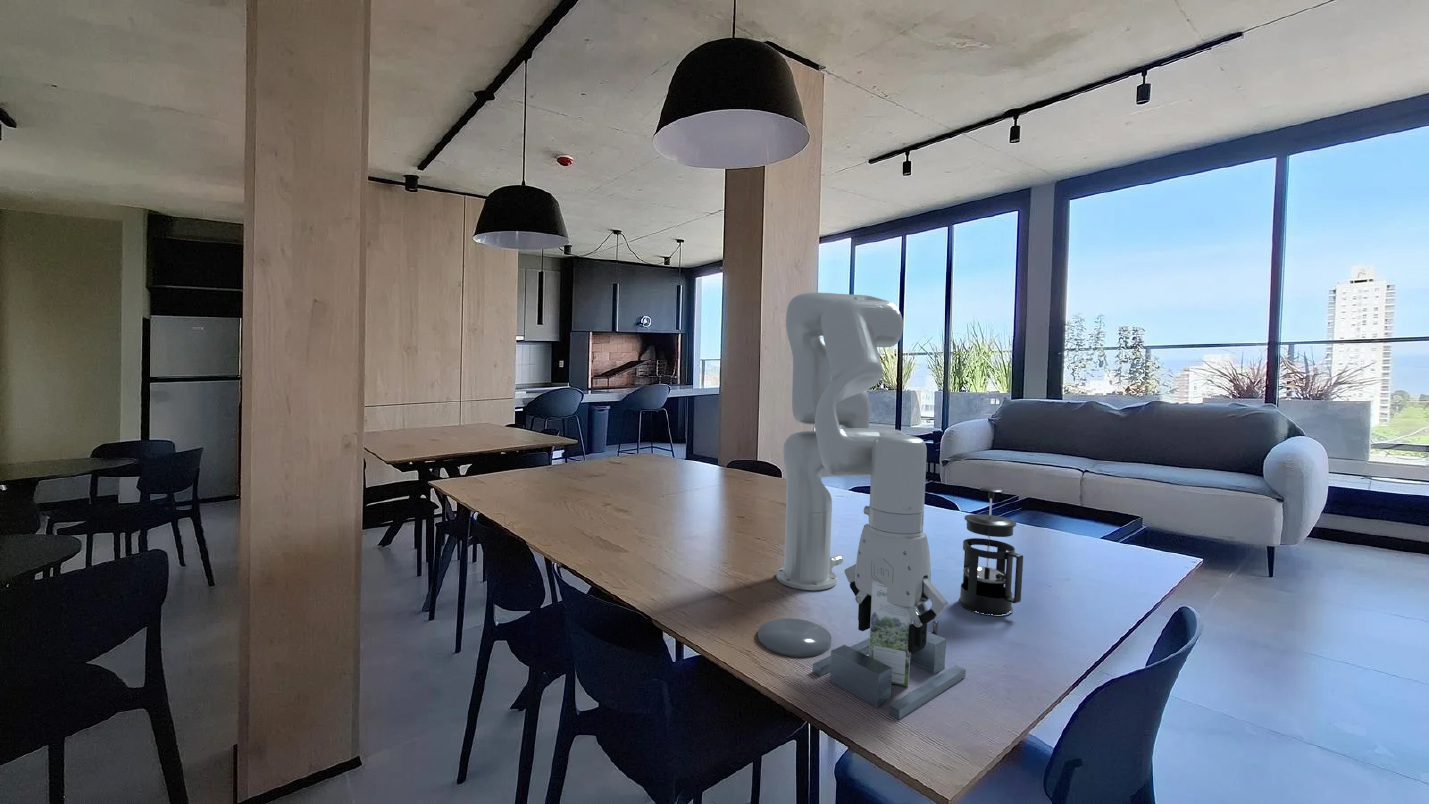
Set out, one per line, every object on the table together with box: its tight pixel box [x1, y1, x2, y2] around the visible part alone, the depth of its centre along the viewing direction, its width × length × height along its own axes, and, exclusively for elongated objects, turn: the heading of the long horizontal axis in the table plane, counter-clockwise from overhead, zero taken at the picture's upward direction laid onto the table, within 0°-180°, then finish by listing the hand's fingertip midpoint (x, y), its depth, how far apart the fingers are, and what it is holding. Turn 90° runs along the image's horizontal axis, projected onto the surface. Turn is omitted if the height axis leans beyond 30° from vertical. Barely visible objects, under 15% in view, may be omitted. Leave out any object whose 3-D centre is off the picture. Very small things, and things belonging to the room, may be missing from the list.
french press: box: [958, 486, 1024, 615], centre depth 110 cm, size 12×9×23 cm
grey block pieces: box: [812, 619, 967, 720], centre depth 86 cm, size 21×14×5 cm
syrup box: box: [868, 580, 913, 687], centre depth 84 cm, size 6×6×14 cm
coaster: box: [757, 617, 832, 658], centre depth 95 cm, size 12×12×1 cm
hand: (890, 638), depth 84 cm, fingers closed on syrup box, 7 cm apart
